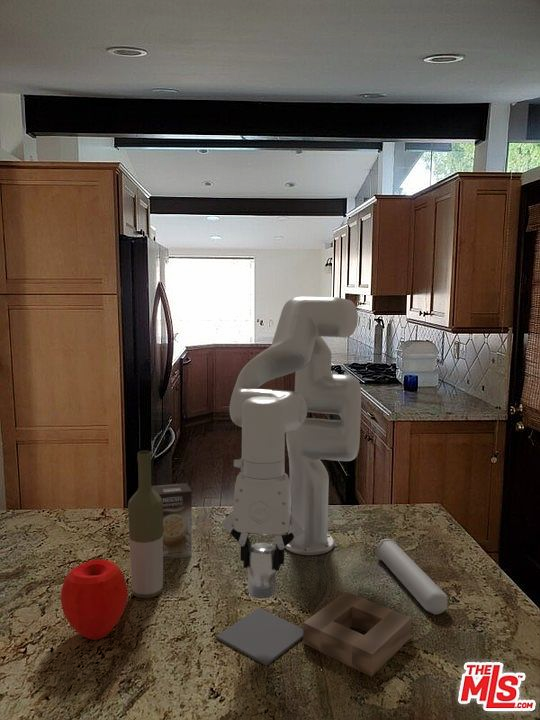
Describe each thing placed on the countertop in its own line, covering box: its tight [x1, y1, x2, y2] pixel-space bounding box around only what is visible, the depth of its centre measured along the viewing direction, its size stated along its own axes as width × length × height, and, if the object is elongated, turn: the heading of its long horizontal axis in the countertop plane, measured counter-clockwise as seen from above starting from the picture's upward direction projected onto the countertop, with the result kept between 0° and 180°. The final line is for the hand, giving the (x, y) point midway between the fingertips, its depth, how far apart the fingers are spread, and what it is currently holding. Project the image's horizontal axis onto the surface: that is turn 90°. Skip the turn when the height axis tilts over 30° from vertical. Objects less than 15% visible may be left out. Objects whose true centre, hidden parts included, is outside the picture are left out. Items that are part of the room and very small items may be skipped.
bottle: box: [127, 450, 164, 599], centre depth 121 cm, size 7×7×30 cm
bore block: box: [302, 591, 412, 678], centre depth 106 cm, size 14×14×4 cm
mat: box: [215, 607, 303, 667], centre depth 108 cm, size 12×12×1 cm
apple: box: [60, 558, 128, 641], centre depth 108 cm, size 12×12×13 cm
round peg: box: [247, 542, 277, 599], centre depth 106 cm, size 5×5×8 cm
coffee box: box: [152, 482, 193, 561], centre depth 139 cm, size 9×6×16 cm
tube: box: [375, 538, 448, 616], centre depth 126 cm, size 5×5×25 cm
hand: (262, 564), depth 106 cm, fingers closed on round peg, 5 cm apart
